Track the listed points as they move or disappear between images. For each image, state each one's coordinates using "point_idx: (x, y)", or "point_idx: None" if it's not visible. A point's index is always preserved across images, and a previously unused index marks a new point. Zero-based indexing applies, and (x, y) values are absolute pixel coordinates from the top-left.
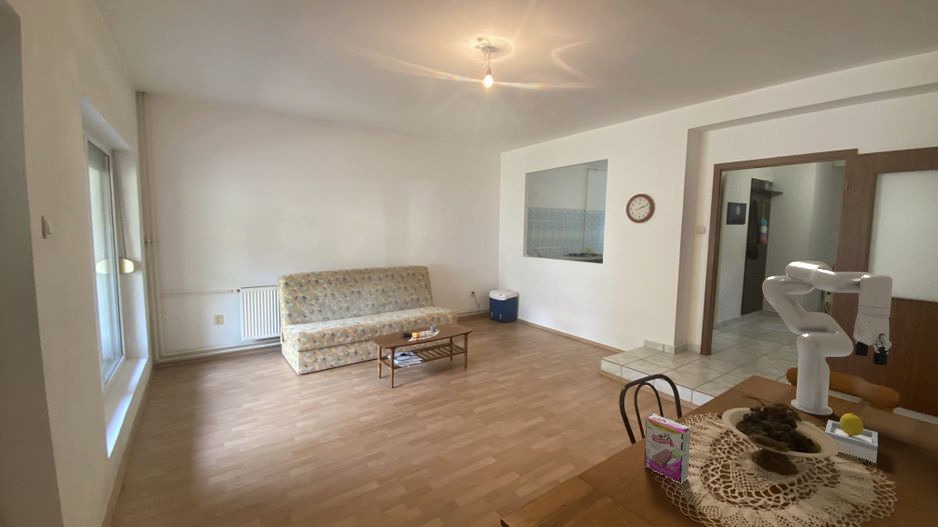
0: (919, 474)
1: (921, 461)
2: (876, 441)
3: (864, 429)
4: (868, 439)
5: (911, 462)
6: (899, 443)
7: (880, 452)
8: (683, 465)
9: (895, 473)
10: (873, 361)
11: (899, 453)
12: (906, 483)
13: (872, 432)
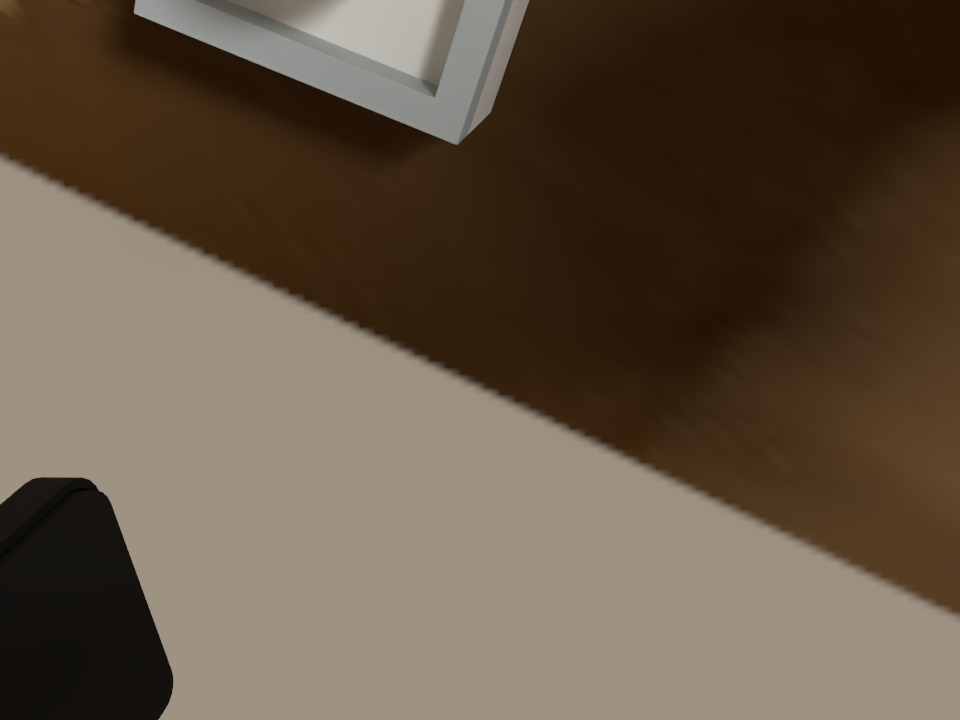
0: (206, 211)
1: (412, 317)
2: (235, 47)
3: (471, 52)
4: (371, 35)
5: (363, 248)
6: (667, 324)
7: None
8: None
9: (131, 68)
10: (4, 510)
11: (477, 240)
12: (30, 75)
13: (432, 98)
